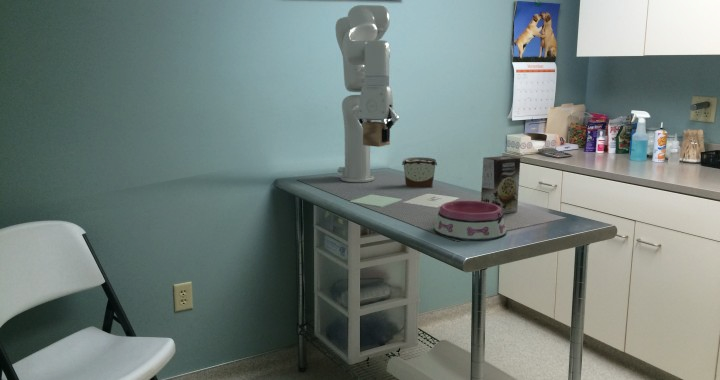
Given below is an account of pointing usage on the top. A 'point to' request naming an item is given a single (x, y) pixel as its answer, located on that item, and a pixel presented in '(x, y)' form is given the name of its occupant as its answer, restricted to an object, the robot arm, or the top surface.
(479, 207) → the dog bowl
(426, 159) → the food container
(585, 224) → the top surface
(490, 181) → the coffee box
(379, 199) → the mat
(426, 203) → the card
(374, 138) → the walnut block
